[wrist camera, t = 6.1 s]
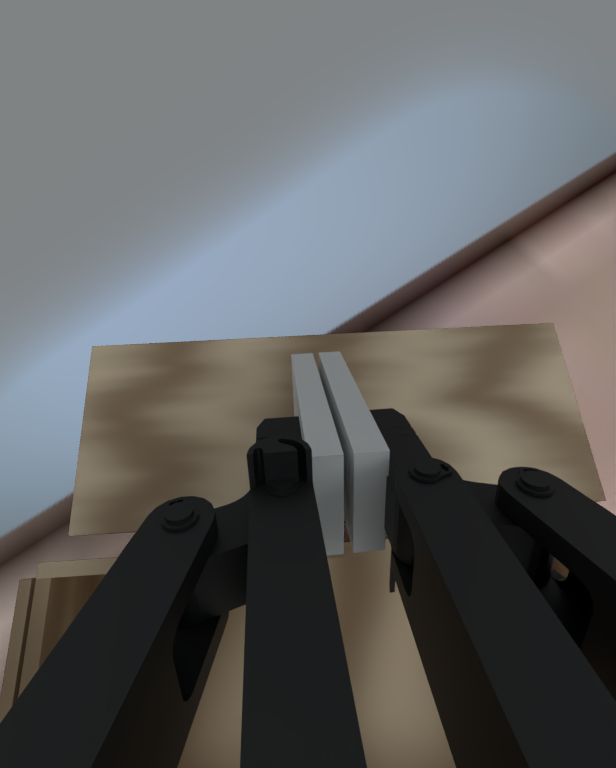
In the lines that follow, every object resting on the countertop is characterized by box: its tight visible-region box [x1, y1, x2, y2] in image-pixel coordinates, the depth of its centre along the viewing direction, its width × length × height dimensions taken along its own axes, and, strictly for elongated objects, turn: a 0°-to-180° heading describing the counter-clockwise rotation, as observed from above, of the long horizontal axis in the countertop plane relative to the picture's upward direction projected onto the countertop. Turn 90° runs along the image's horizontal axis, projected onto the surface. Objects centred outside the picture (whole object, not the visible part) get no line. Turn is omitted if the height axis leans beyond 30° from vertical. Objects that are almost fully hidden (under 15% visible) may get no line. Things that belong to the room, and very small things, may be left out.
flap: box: [68, 323, 606, 536], centre depth 16 cm, size 19×1×7 cm
